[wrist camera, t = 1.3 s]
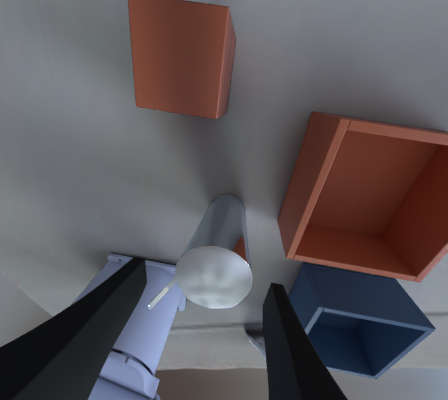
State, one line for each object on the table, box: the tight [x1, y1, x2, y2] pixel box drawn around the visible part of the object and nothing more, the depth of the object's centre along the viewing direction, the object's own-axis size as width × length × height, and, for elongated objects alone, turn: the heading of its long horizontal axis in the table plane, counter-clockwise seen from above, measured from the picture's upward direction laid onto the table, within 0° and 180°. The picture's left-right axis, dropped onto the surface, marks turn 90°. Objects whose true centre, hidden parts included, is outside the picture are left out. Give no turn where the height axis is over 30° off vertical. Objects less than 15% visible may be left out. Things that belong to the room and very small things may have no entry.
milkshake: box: [148, 194, 253, 310], centre depth 14 cm, size 5×5×10 cm
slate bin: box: [288, 263, 436, 379], centre depth 20 cm, size 10×10×5 cm
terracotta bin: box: [277, 112, 448, 282], centre depth 14 cm, size 10×10×5 cm
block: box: [128, 0, 236, 119], centre depth 11 cm, size 4×4×5 cm
